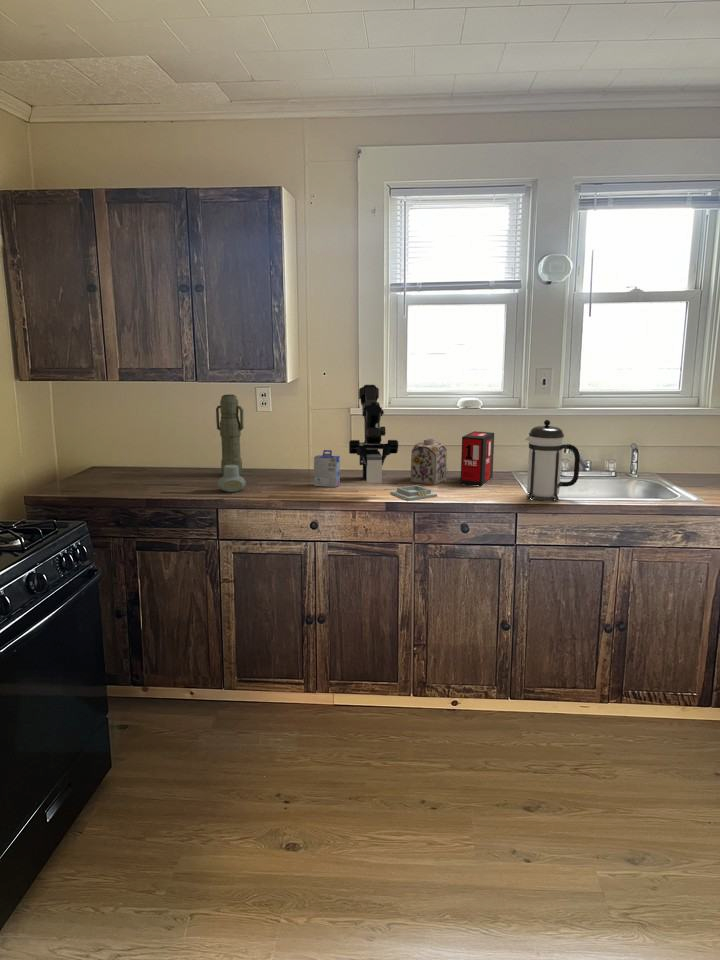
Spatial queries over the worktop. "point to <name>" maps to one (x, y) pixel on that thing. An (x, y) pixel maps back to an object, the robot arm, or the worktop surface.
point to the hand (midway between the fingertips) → (374, 465)
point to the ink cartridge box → (327, 470)
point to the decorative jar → (428, 462)
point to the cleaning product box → (477, 458)
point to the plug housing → (374, 468)
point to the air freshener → (231, 479)
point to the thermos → (230, 431)
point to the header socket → (413, 492)
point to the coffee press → (547, 461)
